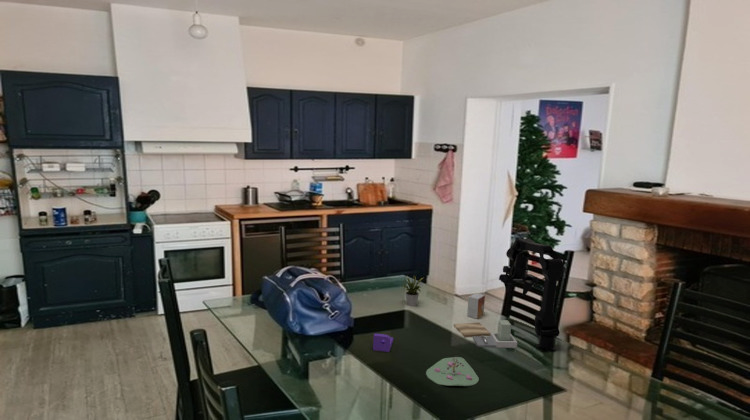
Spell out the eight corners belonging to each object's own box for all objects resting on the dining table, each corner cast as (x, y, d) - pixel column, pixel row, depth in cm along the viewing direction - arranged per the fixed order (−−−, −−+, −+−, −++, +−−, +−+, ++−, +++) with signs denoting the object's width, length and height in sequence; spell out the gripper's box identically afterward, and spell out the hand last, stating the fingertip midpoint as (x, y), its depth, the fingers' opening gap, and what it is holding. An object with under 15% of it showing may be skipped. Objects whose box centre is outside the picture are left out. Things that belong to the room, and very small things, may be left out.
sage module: (505, 340, 221) (507, 320, 220) (509, 345, 216) (511, 324, 215) (497, 340, 221) (498, 320, 220) (500, 345, 216) (502, 324, 215)
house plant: (392, 307, 258) (394, 276, 255) (399, 298, 271) (400, 269, 268) (419, 310, 254) (421, 280, 251) (424, 301, 267) (426, 272, 264)
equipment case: (509, 338, 224) (510, 332, 223) (516, 347, 214) (517, 342, 214) (472, 337, 223) (472, 332, 223) (478, 347, 213) (478, 341, 213)
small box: (477, 319, 245) (478, 299, 243) (466, 316, 248) (468, 296, 247) (484, 314, 251) (485, 295, 250) (473, 312, 255) (475, 292, 253)
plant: (426, 356, 205) (427, 335, 203) (476, 359, 203) (477, 339, 201) (425, 387, 180) (427, 364, 179) (483, 391, 178) (484, 368, 177)
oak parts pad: (491, 335, 226) (491, 333, 226) (464, 337, 223) (464, 335, 223) (479, 324, 239) (479, 322, 238) (453, 325, 236) (453, 323, 235)
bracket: (389, 352, 206) (389, 337, 205) (373, 350, 208) (373, 335, 206) (393, 340, 218) (394, 326, 217) (378, 339, 219) (378, 324, 218)
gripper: (526, 260, 245) (520, 290, 247) (494, 259, 238) (489, 290, 240) (541, 266, 235) (535, 297, 237) (508, 266, 228) (503, 298, 230)
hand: (515, 295), depth 236 cm, fingers open, 9 cm apart
